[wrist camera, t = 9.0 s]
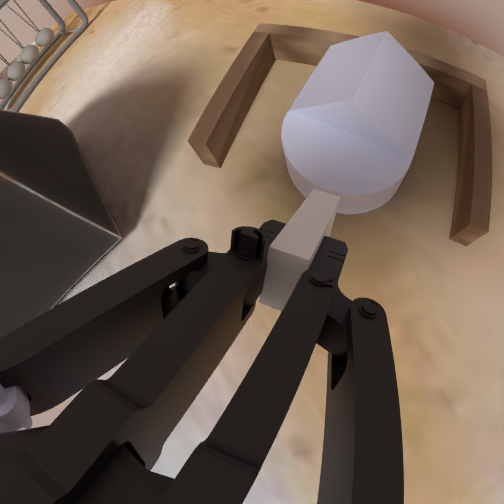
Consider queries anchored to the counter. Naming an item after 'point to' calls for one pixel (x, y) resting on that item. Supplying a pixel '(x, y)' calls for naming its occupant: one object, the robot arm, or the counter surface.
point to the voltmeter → (45, 217)
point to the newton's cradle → (36, 53)
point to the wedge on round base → (357, 122)
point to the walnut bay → (311, 52)
